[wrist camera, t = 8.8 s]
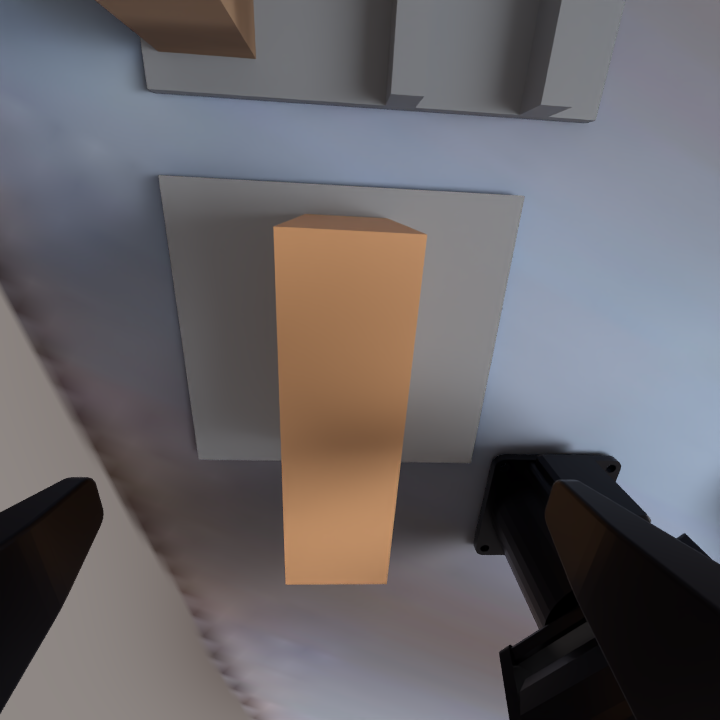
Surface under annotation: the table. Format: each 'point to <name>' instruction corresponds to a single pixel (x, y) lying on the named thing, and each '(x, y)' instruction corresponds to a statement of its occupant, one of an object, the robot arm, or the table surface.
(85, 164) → the table surface
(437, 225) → the mat
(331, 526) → the light brown flat block
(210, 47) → the offcut
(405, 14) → the rack
